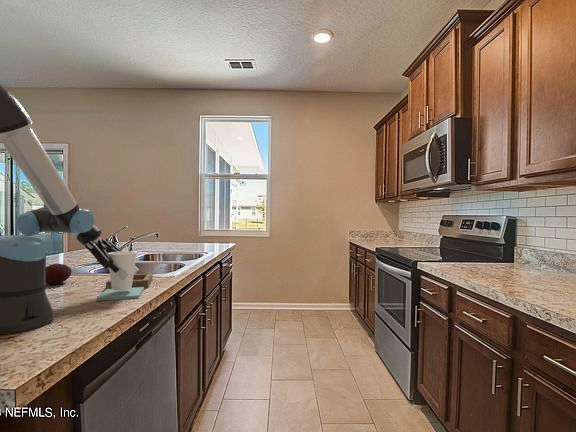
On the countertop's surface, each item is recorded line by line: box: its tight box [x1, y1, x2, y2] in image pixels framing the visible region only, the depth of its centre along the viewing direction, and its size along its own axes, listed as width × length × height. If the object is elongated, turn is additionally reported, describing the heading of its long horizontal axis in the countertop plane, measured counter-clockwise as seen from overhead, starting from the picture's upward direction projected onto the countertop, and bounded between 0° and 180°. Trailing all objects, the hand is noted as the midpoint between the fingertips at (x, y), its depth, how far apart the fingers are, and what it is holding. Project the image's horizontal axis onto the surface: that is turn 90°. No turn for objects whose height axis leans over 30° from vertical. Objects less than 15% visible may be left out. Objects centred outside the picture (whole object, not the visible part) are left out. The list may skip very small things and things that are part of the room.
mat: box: [96, 287, 145, 302], centre depth 118 cm, size 13×13×1 cm
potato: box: [45, 263, 72, 285], centre depth 135 cm, size 12×11×8 cm
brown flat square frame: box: [105, 272, 154, 290], centre depth 134 cm, size 15×15×3 cm
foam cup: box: [108, 250, 138, 290], centre depth 118 cm, size 10×9×13 cm
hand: (131, 274), depth 118 cm, fingers open, 9 cm apart
